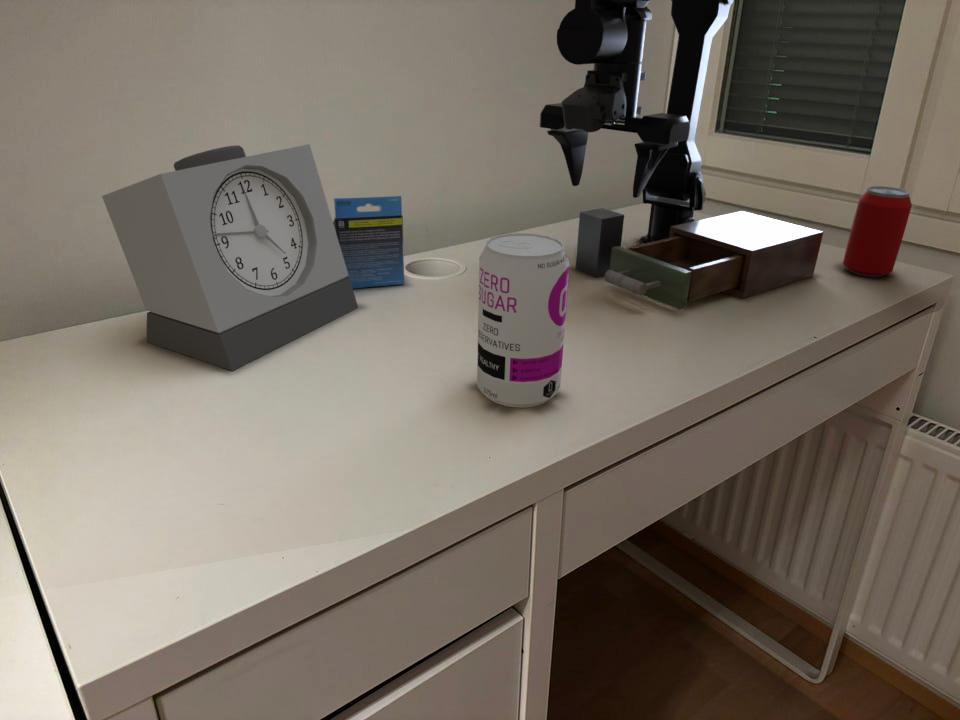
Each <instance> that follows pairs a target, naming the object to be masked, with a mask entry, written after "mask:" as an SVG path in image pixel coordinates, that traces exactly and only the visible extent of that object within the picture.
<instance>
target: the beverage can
mask: <svg viewBox="0 0 960 720" xmlns="http://www.w3.org/2000/svg"><path fill="white" fill-rule="evenodd" d="M910 194H911V193H910V191H908V190H905V189H903V188H898V187H892V186H883V185H882V186H881V185H880V186H879V185H876V186H869V187H867V189H866V191H865V192H864V193H863V194H862V195H861V196H860V197H859V198H858V202H857V206H856V209H855V213H854V216H853V221H852V224H851V228H850V231H849V236H848V240H847V244H846V247H845V251H844V256H843V260H842V265H843V266H844V267H845V268H847V270H848V271H850V272H851V273H854V274H855V275H858V276H859V275H860V276H864V277H872V278H878V277H883V276H885V275H887V274H891V273H892V272H893V271H894V268H895V265H896V261H897V258H898V255H899V251H900V248H901V245H902V241H903V238H904V235H905V231H906V229H907V224H908V220H909V217H910V214H911V210H912V207H913V204H912V201H911V197H910Z"/></svg>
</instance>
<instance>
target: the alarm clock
mask: <svg viewBox="0 0 960 720" xmlns="http://www.w3.org/2000/svg"><path fill="white" fill-rule="evenodd" d="M173 168H174V170H173V171H168V172H164V173H159V174H156V175H154V176H151V177H148V178H146V179H143V180H140V181H137V182H135V183H133V184H129V185H127V186H125V187H121V188H119V189H117V190H114V191H112V192H109V193H106V194H103V195H101V198H102V200H103V203H104V205H105V208H106V211H107V213H108V217H109V218H110V222H111V223H112V227H113V228H114V231H115V233H116V236H117V239H118V241H119V244H120V246H121V250H122V252H123V255H124V257H125V259H126V262H127V265H128V267H129V270H130V273H131V274H132V278H133V281H134V283H135V285H136V288H137V290H138V293H139V295H140V298H141V301H142V303H143V307H144V308H145V311H147V312H146V337H145V338H146V339H145V341H146V343H150V344H151V345H155V346H158V347H159V348H163V349H166V350H170V351H173V352H176V353H179V354H180V355H184V356H187V357H190V358H193V359H195V360H198V361H201V362H205V363H207V364H211V365H214V366H215V367H216V366H217V367H219V368H222V369H225V370H228V371H231V372H233V371H235V370H237V369H239V368H241V367H243V366H245V365H247V364H249V363H252V362H254V361H255V360H257V359H259V358H261V357H263V356H265V355H267V354H269V353H271V352H274V351H275V350H277V349H279V348H281V347H284V346H285V345H287V344H289V343H291V342H293V341H295V340H297V339H299V338H301V337H303V336H305V335H307V334H309V333H311V332H313V331H315V330H317V329H319V328H321V327H323V326H325V325H327V324H329V323H331V322H333V321H334V320H337V319H339V318H340V317H343V316H345V315H347V314H348V313H351V312H352V311H354V310H356V309H358V308H359V305H358V302H357V299H356V296H355V293H354V289H353V288H352V285H351V281H350V278H348V277H347V276H349V275H348V272H347V268H346V265H345V261H344V258H343V255H342V251H341V248H340V245H339V241H338V238H337V235H336V231H335V228H334V224H333V221H334V220H333V217H332V214H331V212H330V208H329V205H328V201H327V197H326V195H325V191H324V188H323V184H322V181H321V178H320V174H319V171H318V168H317V164H316V161H315V157H314V155H313V151H312V147H311V144H310V143H309V144H303V145H298V146H294V147H293V146H292V147H288V148H283V149H277V150H273V151H268V152H262V153H258V154H253V155H246V152H245V149H244V148H243V147H242V146H241V145H239V144H237V145H228V146H222V147H217V148H213V149H209V150H205V151H202V152H197V153H195V154H192V155H188V156H185V157H182V158H181V159H179V160H177V161H175V162H174V163H173Z"/></svg>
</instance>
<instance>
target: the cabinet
mask: <svg viewBox="0 0 960 720" xmlns="http://www.w3.org/2000/svg"><path fill="white" fill-rule="evenodd" d="M679 235H682V236H686V237H689V238H692V239H695V240H699V241H702V242H705V243H708V244H712V245H715V246H718V247H721V248H725V249H728V250H731V251H734V252H738V253H741V254H744V255H746V258H745V263H744V269H743V274H742V279H741V284H740V286H738V287H735V288H732V289H729V290H725V291H723V293H726V294H729V295H732V296H735V297H738V298H741V299H745V298H746V299H747V298H749V297H752V296H754V295H757V294H761V293H764V292H765V293H766V292H768V291H771V290H773V289H776V288H780V287H783V286H786V285H789V284H792V283H795V282H799V281H802V280H804V279H807V278H811V277H813V276H814V273H815V269H816V265H817V261H818V257H819V252H820V249H821V245H822V241H823V236H824V231H822V230H819V229H814V228H810V227H806V226H803V225H800V224H799V225H798V224H794V223H791V222H787V221H783V220H779V219H775V218H772V217H767V216H765V215H760V214H756V213H753V212H748V211H744V210H739V211H735V212H730V213H725V214H722V215H717V216H713V217H707V218H703V219H699V220H694V221H693V222H689V223H684V224H679V225H675V226H671V227H670V235H669V238H671V237H675V236H679Z"/></svg>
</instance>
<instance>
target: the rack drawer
mask: <svg viewBox="0 0 960 720" xmlns="http://www.w3.org/2000/svg"><path fill="white" fill-rule="evenodd" d="M745 258H746V255H744V254H741V253H738V252H734V251H731V250H728V249H725V248H721V247H718V246H715V245H712V244H708V243H705V242H702V241H699V240H695V239H692V238H689V237H686V236H682V235H679V236H675V237H671V238H666V239H662V240H658V241H653V242H646V243H641V244H637V245H632V246H628V248H626V247H623V246H621V247H620V246H615V247H612V252H611V262H610V270H608V271H607V272H606V273H605V275H604V276H603V279H604V282H606V283H608V284H611V285H612V286H613V285H614V286H616V287H618V288H620V289H623V290H626V291H627V292H631V293H633V294H635V295H638V296H645V297H647V298H649V299H652V300H654V301H657V302H659V303H662V304H664V305H667V306H669V307H672V308H674V309H677V310H678V311H681V310H685V309H686V308H687V303H689V302H693V301H696V300H699V299H702V298H705V297H709V296H713V295H716V294H719V293H722V292H724V291H725V290H729V289H732V288H735V287H738V286H740V284H741V279H742V274H743V269H744V263H745Z"/></svg>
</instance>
